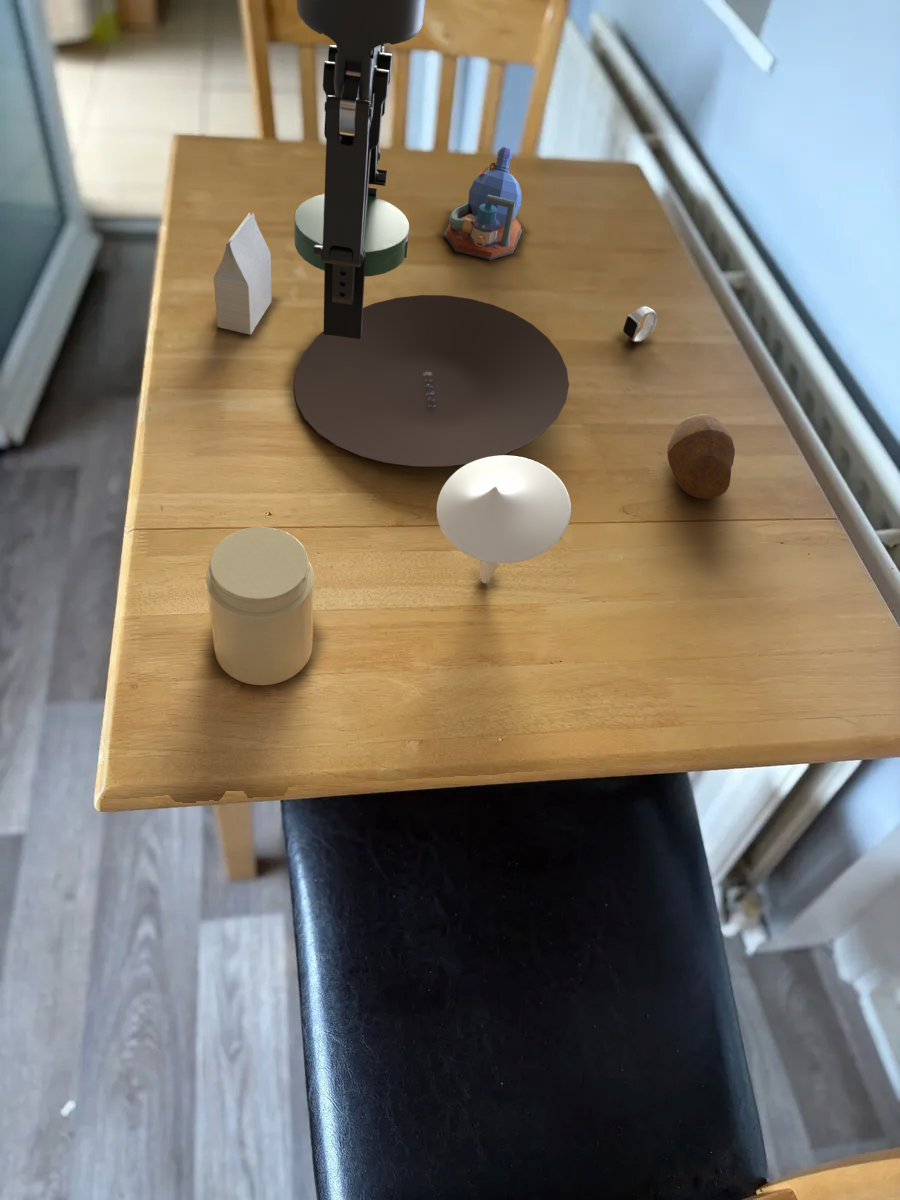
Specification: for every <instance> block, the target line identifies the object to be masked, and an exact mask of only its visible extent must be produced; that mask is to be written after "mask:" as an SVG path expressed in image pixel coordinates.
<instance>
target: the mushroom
mask: <svg viewBox="0 0 900 1200" xmlns="http://www.w3.org/2000/svg"><path fill="white" fill-rule="evenodd" d="M571 513H572V503H571V498H570V495H569V492H568V490H567V488H566V485H565V484H564V483H563V481H562V480H561V478H560V477H559V476H558V475H557V474H556V473H555V472H554V471H552V470H551V469H550V468H549V467H547V466H545V465H544V464H542V463H540V462H538V461H535V460H533V459H529V458H527V457H523V456H516V455H502V456H491V457H486V458H482V459H479V460H476V461H473V462H471V463H469V464H464V465H463V466H461V467H460V468H459V469H457V470H456V471H455V472H454V473H453V474H452V475H451V476H449V478H448V479H447V480H446V482H445V483H444V485H443V486H442V488H441V490H440V492H439V495H438V497H437V502H436V517H437V522H438V526H439V528H440V530H441V532H442V534H443V535H444V537H445V538H446V540H447V541H448V542H449V543H450V544H451V545H452V546H453V547H455V549H457V550H458V551H460V552H461V553H463V554H464V555H467V556H468V557H471V558H473V559H476V560H479V579H480V581H481V582H482V584H487V583H489V581H490V580H491V578H492V576H493V575H494V573H495V572H496V570H497V568H498V567H499V566H500V564H514V563H520V562H525V561H529V560H531V559H534V558H536V557H538V556H540V555H542V554H544V553H546V552H547V551H549V550H550V549H551V548H553V547H554V546H555V545H556V544H557V543H558V542H559V541H560V540H561V538H562V537H563V535H564V534H565V533H566V531H567V528H568V526H569V523H570V521H571Z"/></svg>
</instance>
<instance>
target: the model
mask: <svg viewBox="0 0 900 1200" xmlns="http://www.w3.org/2000/svg"><path fill="white" fill-rule="evenodd" d="M512 158H513V151H512V149H511V147H510V146H507V145H504V146H501V147H500V148H499V149H498V151H497V157H496V162H494V161H493V162H492V163H490V165H489V166H488V167H486V168H485V169H484V170H481V172H479V173H478V176H477V177H476V178H475V179H474V180H473V182H472V184H471V186H470V188H469V191H468V201H467V202H466V203H464V204H462V205H460V206H457V207H456V208H455V209H454V210H453V211H452V212H451V214H450V216H449V221H448V222H449V224H448V226H447V227H446V229H445V232H444V235H443V237H444V238H445V239H446V240H447V242H448V243H449V244H450V246H451V248H452V249H453V250H454V252H455V253H459V254H464V255H468V256H472V257H475V258H480V259H483V260H487V261H493V260H495V259H499V258H503V257H506V256H509V255H512V254H514V252H515V251H516V248H517V245H518V242H519V240H520V238H521V235H522V233H523V229H522V228H521V224H520V222H519V221H518V220H517V219H516V217H517V214H518V212H519V210H520V208H521V206H522V197H523V196H522V195H523V194H522V190H521V186H520V183H519V181H517V179H516V178H515V177H514V175H513V174H511V173H510V172H509V171H510V168H509V167H510V163H511V160H512Z"/></svg>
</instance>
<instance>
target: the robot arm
mask: <svg viewBox="0 0 900 1200" xmlns="http://www.w3.org/2000/svg"><path fill="white" fill-rule="evenodd" d="M425 7H426V0H296V10H297V13H298V16H299V17H300V20H301V21H302V22H303V24H304V25H306V26H307V27H308V28H309V29H311V30H312V31H314V33H317V34H319V35H324V36H326V37H327V38H329V39H330V40H331V41H332V42H334V44H335V45H333V44H329V47H328V53H327V61H326V60H325V61H324V64H323V72H322V74H323V75H322V90H323V92H324V94H325V101H324V112H325V113H324V127H323V133H324V137H325V141H326V143H325V166H324V167H325V170H324V193H323V194H324V223H323V246H321V245H315V246H314V255H316V256H322V262H323V263H325V271H324V278H323V279H324V281H323V282H324V283H323V288H324V289H323V331H324V332H323V331H322V332H323V334H324V335H332V336H340V337H348V338H356V339H361V333H362V316H363V308H364V296H365V279H366V277H365V261H366V251H365V248H364V234H365V221H366V208H367V195H369V196H372V197H376V198H377V195H378V188H373V187H370V185H373V186H374V185H375V186H381V187H387V186H386V185H387V177H388V176H387V175H388V170H386V169H379V168H378V165H379V161H380V160H381V155H382V153H381V151H380V140H381V130H382V129H381V127H382V117H383V116H384V115H385V113H386V105H387V98H388V94H389V93H388V92H389V85H390V82H391V76H392V75H391V74H392V67H393V66H392V62H393V54H392V53H386V52H385V48H386V47H385V46H386V44H390V45H392V46H393V45H398V44H401V43H404V42H407V41H409V40H411V39H413V38H414V37H416V36H417V35H418V34H419V32H421V30H422V28H423V24H424V19H425V18H424V17H425Z"/></svg>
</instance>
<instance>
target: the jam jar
mask: <svg viewBox="0 0 900 1200" xmlns="http://www.w3.org/2000/svg"><path fill="white" fill-rule="evenodd" d="M205 576H206V577H205V584H206V591H207V599H208V600H207V601H208V607H209V608H208V609H209V614H210V622H211V623H210V625H211V632H212V641H213V649H214V650H213V651H214V656H215V658H216V661H217V663H218V665H219V666H220V667H221V669H222V670H223V671H224V672H225V673H226V674H228V675H229V676H230V677H231V678H234V679H235V680H237V681H239V682H241V683H245V684H247V685H253V686H268V685H269V686H270V685H275V684H279V683H283V682H285V681H288V680H290V679H292V678H294V676H296V675H297V674H299V672H301V671H302V670H303V669H304V668H305V666H306V665H307V663H308V662H309V660H310V658H311V655H312V652H313V633H314V632H313V630H314V629H313V626H314V622H313V621H314V587H315V586H314V583H315V580H314V579H315V577H314V576H315V575H314V569H313V567H312V564H311V562H310V561H309V557H308V553H307V551H306V549H305V547H304V545H303V544H302V543H301V542H300V541H299V539H297V538H296V537H295V536H293V535H292V534H291V533H288V532H286V531H283V530H281V529H278V528H274V527H269V526H252V527H246V528H243V529H239V530H236V531H234V532H232V533H230V534H228V535H227V536H225V537H223V539H221V540H220V541H219V542H218V544H217V545H216V546H215V548H214V549H213V551H212V553H211V556H210V559H209V565H208V568H207V571H206V575H205Z"/></svg>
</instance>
